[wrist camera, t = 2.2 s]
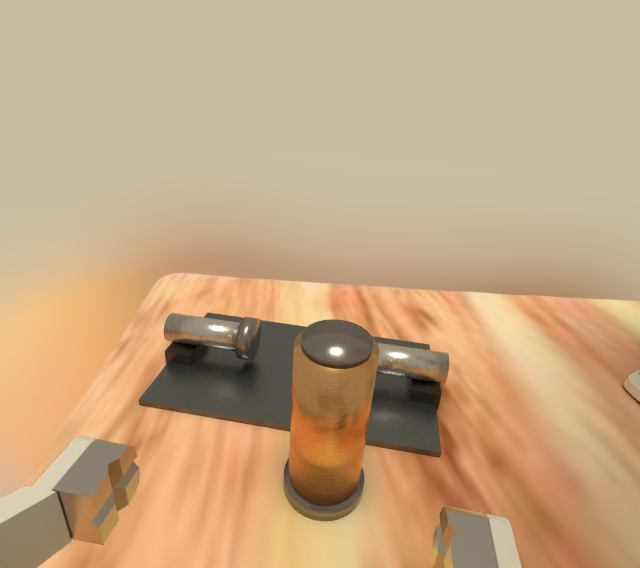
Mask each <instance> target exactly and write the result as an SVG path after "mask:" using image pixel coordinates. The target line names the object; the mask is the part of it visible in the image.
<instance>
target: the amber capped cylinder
mask: <svg viewBox="0 0 640 568" xmlns="http://www.w3.org/2000/svg"><path fill="white" fill-rule="evenodd" d="M378 358H379V347H378V344H377V342H376V341H375V340H374V338H373V337H372V336H371V335H370V334H369V332H368V331H366V330H365V329H364V328H362V327H361V326H359V325H357V324H354V323H352V322H348V321H343V320H323V321H318V322H315V323H313V324H311V325H309V326H308V327H307V328H306V329H305V330H303V331H302V332H300V333H299V334H298V336H297V337H296V339H295V341H294V353H293V377H292V402H291V426H290V450H289V459H288V461H287V463H286V465H285V469H284V491H285V495H286V497H287V499H288V501H289V503H290V504H291V505H292V507H293V508H294V509H295V510H297V511H298V512H299V513H300V514H302V515H304V516H306V517H308V518H311V519H314V520H319V521H332V520H336V519H339V518H342V517H344V516H346V515H348V514H349V513H350V512H351V511H353V510H354V509H355V507H356V506H357V505H358V503H359V501H360V499H361V495H362V490H363V484H364V473H363V469H362V461H363V455H364V448H365V442H366V435H367V429H368V422H369V416H370V410H371V403H372V397H373V390H374V384H375V378H376V371H377V365H378Z"/></svg>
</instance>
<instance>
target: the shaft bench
mask: <svg viewBox="0 0 640 568" xmlns="http://www.w3.org/2000/svg"><path fill="white" fill-rule="evenodd" d="M306 328H307V327H304V326H297V325H290V324H283V323H276V322H269V321H262V320H260V319H257V318H250V317H244V318H241V317H235V316H228V315H221V314H214V313H207V314H206V315H205V316H204V317H197V316H190V315H183V314H177V313H171V314H170V315H169V316H168V317H167V319H166V322H165V325H164V337H165V339H166V340H167V341H172V343H171V345H170V346H169V347H168V348H167V349H166V351H165V357H166V364H167V365H166V366H165V367H164V368H163V370H162V371H161V372H160V374H159V375H158V376H157V377H156V379H155V380H154V381H153V382H152V384H151V385H150V386H149V388H148V389H147V390H146V391H145V393H144V394H143V395H142V396H141V398H140V399H139V405H144V406H150V407H155V408H161V409H167V410H173V411H178V412H184V413H190V414H196V415H201V416H207V417H213V418H218V419H224V420H230V421H236V422H241V423H247V424H253V425H259V426H264V427H270V428H276V429H281V430H287V431H290V426H291V402H292V377H293V353H294V341H295V339H296V337H297V336H298V334H299V333H300V332H302V331H303V330H305V329H306ZM372 337H373V336H372ZM373 338H374V340H375V341H376V342H377V344H378V347H379V358H378V365H377V371H376V378H375V384H374V390H373V397H372V403H371V410H370V416H369V422H368V429H367V435H366V442H365V444H367V445H373V446H379V447H385V448H390V449H396V450H402V451H407V452H413V453H419V454H425V455H430V456H436V457H440V455H441V447H440V438H439V429H438V420H437V411H436V410H437V409H438V405H439V401H440V397H441V390H440V383H445V382H446V380H447V376H448V369H449V356H448V353H444V352H437V351H430V347H429V345H428V344H422V343H415V342H408V341H401V340H394V339H387V338H380V337H373Z"/></svg>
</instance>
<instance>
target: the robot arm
mask: <svg viewBox="0 0 640 568" xmlns="http://www.w3.org/2000/svg"><path fill="white" fill-rule="evenodd" d="M623 385H624V387H625V389H626V390H627V391H628V392H629V393H630V394H631V395H632V396H633V397H634V398H636V399H637V400H638V401H639V402H640V370H638V371H636V372H634V373H632V374H630V375H629V376H628V377H627V379H626V380H625V382H624V383H623ZM136 457H137V454H136V450H135V447H131V446H127V445H122V444H118V443H113V442H109V441H104V440H99V439H95V438H90V437H85V436H79V437H77V438H76V439H74V440H73V441H72V442H71V443H70V444H69V445H68V446H67V447H66V449H65V450H64V451H63V452H62V453H61V454H60V455H59V456H58V458H57V459H56V460H55V461H54V462H53V463H52V464H51V465H50V466H49V468H48V469H47V470H46V471H45V472H44V473H43V474H42V475H41V476H40V478H39V479H38V480H37V481H36V482H35V483H34V484H33V485H32V486H28V485H26V486H24V487H22V488H20V489H18V490H16V491H15V492H13V493H11V494H9V495H7V496H5V497H3V498H1V499H0V568H37V567H38V566H40V565H41V564H42V563H43V562H45V561H46V560H47V559H49V558H50V557H51V556H53V555H54V554H55V553H57V552H58V551H59V550H61V549H62V548H63V547H65V546H66V545H67V544H69V543H70V542H71V541H72V540H71V539H74V540H79V541H84V542H90V543H95V544H100V545H104V543H105V541H106V540H107V538H108V537H109V535H110V534H111V532H112V530H113V529H114V527H115V526H116V524H117V522H118V521H119V516H118V511H119V510H121V509H123V508H124V507H126V506H127V505H129V503H130V502H131V500H132V498H133V497H134V495H135V492H136V490H137V487H138V484H139V478H140V472H139V467H138V466H137V465H136V464H135V463H134V462H133V461H134V460H135V458H136ZM432 559H433V568H522V566H521V562H520V559H519V555H518V551H517V547H516V543H515V539H514V535H513V531H512V528H511V524H510V522H509V520H508V519H507V518H505V517H500V516H495V515H489V514H484V513H482V512H476V511H471V510H465V509H459V508H454V507H448V506H444V507H443V508H442V510H441V513H440V525H438V526H436V529H435V533H434V537H433V546H432Z"/></svg>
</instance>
